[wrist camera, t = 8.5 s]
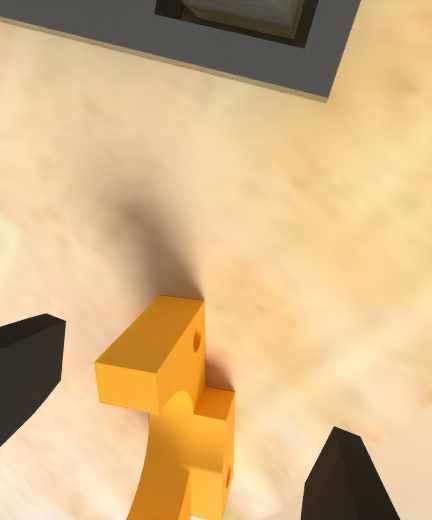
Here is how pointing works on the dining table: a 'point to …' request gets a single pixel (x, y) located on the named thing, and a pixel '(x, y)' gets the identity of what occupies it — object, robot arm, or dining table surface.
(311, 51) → the dark grey flat frame
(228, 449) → the pipe clamp
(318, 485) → the robot arm
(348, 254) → the dining table surface
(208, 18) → the block
